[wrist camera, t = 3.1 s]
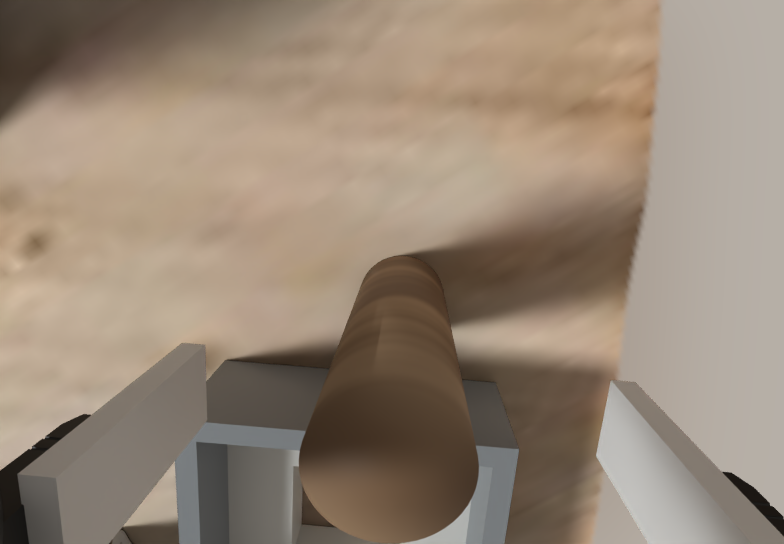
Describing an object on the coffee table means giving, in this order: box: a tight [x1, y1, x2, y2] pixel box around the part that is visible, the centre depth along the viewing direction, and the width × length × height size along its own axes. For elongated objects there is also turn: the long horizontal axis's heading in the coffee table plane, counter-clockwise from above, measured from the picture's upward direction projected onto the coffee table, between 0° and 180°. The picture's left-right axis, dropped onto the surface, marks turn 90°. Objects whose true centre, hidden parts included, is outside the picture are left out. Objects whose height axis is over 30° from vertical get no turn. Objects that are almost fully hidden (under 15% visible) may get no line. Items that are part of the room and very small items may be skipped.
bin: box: [175, 360, 519, 544], centre depth 25 cm, size 15×15×6 cm
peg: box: [299, 256, 479, 544], centre depth 18 cm, size 4×4×14 cm
